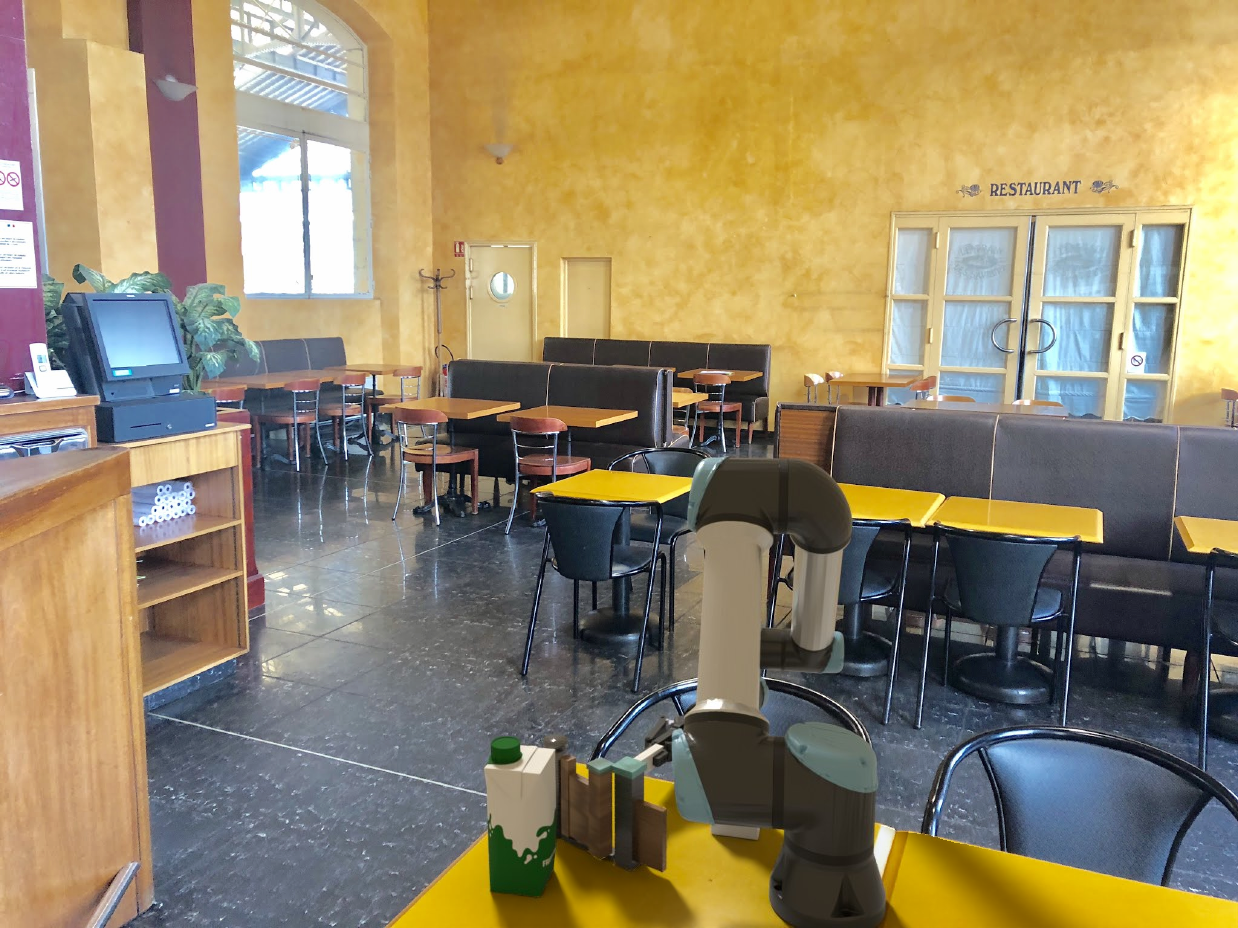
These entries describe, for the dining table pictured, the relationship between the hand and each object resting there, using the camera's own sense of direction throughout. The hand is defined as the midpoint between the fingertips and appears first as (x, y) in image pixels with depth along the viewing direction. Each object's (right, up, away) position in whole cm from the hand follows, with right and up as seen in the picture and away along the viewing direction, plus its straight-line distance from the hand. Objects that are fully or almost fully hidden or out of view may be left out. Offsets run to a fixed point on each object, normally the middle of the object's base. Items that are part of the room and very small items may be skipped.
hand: (636, 767), depth 147 cm
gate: (-8, -8, -10) cm, 15 cm away
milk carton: (-16, -10, -17) cm, 25 cm away
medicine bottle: (+15, -8, -2) cm, 18 cm away
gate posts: (-5, -9, -10) cm, 14 cm away
